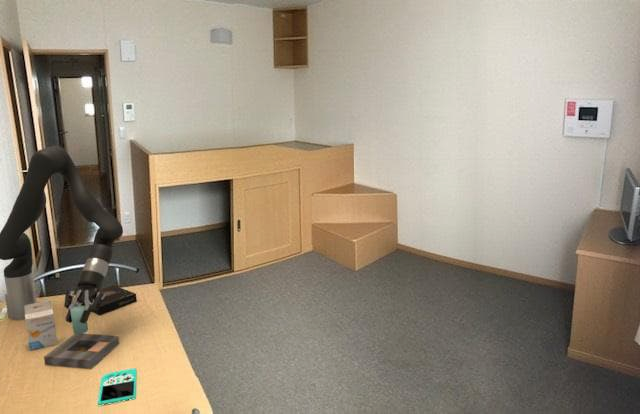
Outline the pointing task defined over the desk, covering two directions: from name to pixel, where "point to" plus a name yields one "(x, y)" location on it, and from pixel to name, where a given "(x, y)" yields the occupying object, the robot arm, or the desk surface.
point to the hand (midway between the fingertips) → (75, 322)
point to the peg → (78, 320)
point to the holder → (72, 357)
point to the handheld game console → (117, 386)
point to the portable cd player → (114, 299)
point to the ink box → (40, 325)
